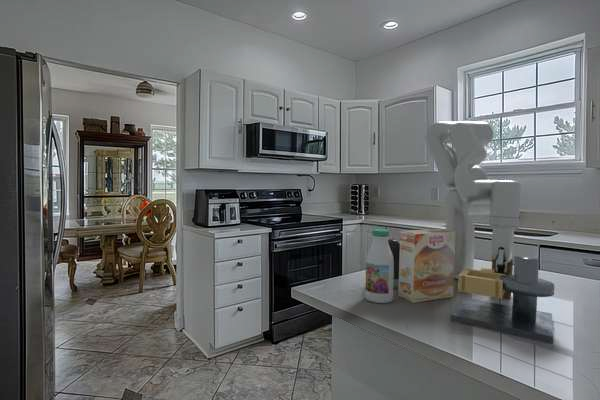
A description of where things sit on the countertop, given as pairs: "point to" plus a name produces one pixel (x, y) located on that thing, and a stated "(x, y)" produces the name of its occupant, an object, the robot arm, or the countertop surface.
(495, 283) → the ochre bracket
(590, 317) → the countertop surface
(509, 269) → the walnut wedge
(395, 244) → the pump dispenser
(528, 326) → the ringlock post
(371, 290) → the milk bottle
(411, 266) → the coffeecake box
